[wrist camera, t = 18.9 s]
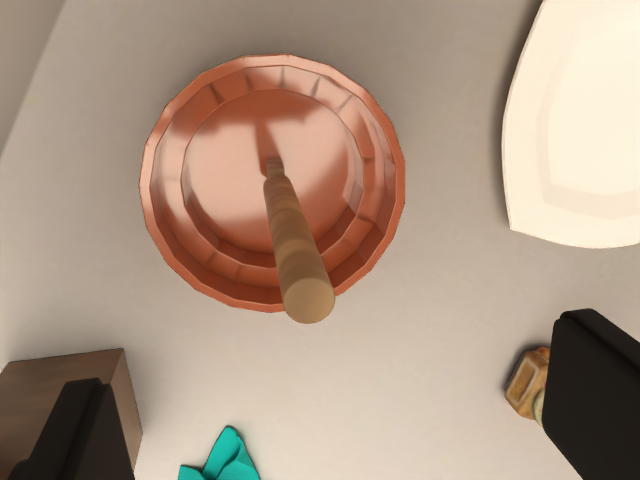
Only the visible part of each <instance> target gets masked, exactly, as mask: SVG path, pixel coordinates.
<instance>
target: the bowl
mask: <svg viewBox="0 0 640 480" xmlns="http://www.w3.org/2000/svg"><path fill="white" fill-rule="evenodd" d="M275 158H280V159H281V161H282V164H283V167H284V172H285V176H287V177H288V178H289V179H290V181H291V183H292V185H293V188H294V190H295V193H296V195H297V198H298V201H299V203H300V206H301V208H302V211H303V213H304V216H305V218H306V221H307V223H308V226H309V229H310V231H311V234H312V236H313V239H314V241H315V244H316V246H317V249H318V251H319V254H320V257H321V259H322V262H323V264H324V267H325V269H326V272H327V274H328V277H329V279H330V282H331V285H332V287H333V290H334V293H335V296H337V295H340V294H342V293H343V292H345V291H346V290H347V289H348V288H350V287H351V286H352V285H353V284H355V283H356V282H357V281H358V280H360V279H361V278H362V277H363V276H365V275H366V274H367V273H368V272H370V271H371V269H372V268H373V267H374V265H375V264H376V263H377V261H378V260H379V258H380V257H381V255H382V254H383V253H384V251H385V250H386V248H387V247H388V245H389V244H390V242H391V241H392V240H393V238H394V235H395V232H396V229H397V226H398V222H399V219H400V216H401V213H402V210H403V207H404V204H405V160H404V157H403V154H402V151H401V148H400V145H399V142H398V139H397V136H396V133H395V130H394V126H393V125H392V122H391V121H390V120H389V118H388V117H387V116H386V114H385V113H384V112H383V110H382V109H381V108H380V106H379V105H378V104H377V102H376V101H375V100H374V98H373V97H372V95H371V94H370V93H369V91H367V90H366V89H365V88H364V87H362V86H361V85H359V84H358V83H356V82H355V81H353V80H352V79H350V78H349V77H348V76H346V75H345V74H343V73H342V72H340V71H339V70H337V69H336V68H334V67H333V66H331V65H328V64H324V63H320V62H317V61H313V60H310V59H306V58H302V57H299V56H295V55H292V54H287V53H266V54H250V55H241V56H238V57H236V58H233V59H231V60H229V61H226V62H224V63H221V64H219V65H217V66H214V67H212V68H210V69H207V70H205V71H204V72H202V73H201V74H200V75H198V76H197V77H196V78H195V79H194V80H193V81H192V82H191V83H190V84H188V85H187V86H186V87H185V88H184V89H183V90H182V91H181V92H180V93H179V94H177V95H176V96H175V97H174V98H173V99H172V100H171V101H170V102H169V103H168V104H167V105H166V106H165V108H164V109H163V111H162V113H161V115H160V117H159V119H158V121H157V123H156V124H155V126H154V128H153V130H152V132H151V134H150V136H149V138H148V139H147V141H146V144H145V147H144V153H143V160H142V167H141V173H140V180H139V192H140V197H141V202H142V207H143V213H144V218H145V223H146V227H147V230H148V232H149V233H150V235H151V237H152V239H153V241H154V242H155V244H156V246H157V248H158V249H159V251H160V253H161V255H162V256H163V258H164V260H165V262H166V263H167V264H168V265H169V266H170V267H171V268H172V269H173V270H174V271H175V272H177V273H178V274H179V275H180V276H181V277H182V278H183V279H184V280H185V281H186V282H187V283H189V284H190V285H191V286H192V287H193V288H194V289H195V290H197V291H199V292H201V293H203V294H205V295H207V296H209V297H211V298H214V299H216V300H218V301H220V302H222V303H224V304H226V305H228V306H231V307H235V308H242V309H248V310H254V311H260V312H267V313H273V312H281V311H285V309H284V306H283V301H282V295H281V289H280V284H279V278H278V272H277V266H276V261H275V255H274V249H273V244H272V238H271V232H270V227H269V221H268V215H267V209H266V204H265V198H264V192H263V184H264V182H265V180H266V179H267V172H266V162H265V160H266V159H275Z"/></svg>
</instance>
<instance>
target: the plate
mask: <svg viewBox="0 0 640 480" xmlns="http://www.w3.org/2000/svg"><path fill="white" fill-rule="evenodd" d="M501 148H502V173H503V182H504V191H505V199H506V207H507V213H508V219H509V224H510V228H511V229H512V230H515V231H518V232H521V233H524V234H528V235H531V236H534V237H537V238H541V239H544V240H548V241H551V242H555V243H558V244H563V245H569V246H575V247H581V248H601V249H605V248H614V247H622V246H628V245H632V244H637V243H640V0H543V1H542V4H541V6H540V8H539V10H538V13H537V15H536V17H535V20H534V22H533V25H532V27H531V30H530V32H529V35H528V37H527V40H526V42H525V45H524V47H523V50H522V53H521V55H520V58H519V61H518V64H517V67H516V70H515V73H514V77H513V80H512V83H511V86H510V89H509V94H508V98H507V102H506V107H505V111H504V115H503V126H502V144H501Z"/></svg>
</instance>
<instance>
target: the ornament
mask: <svg viewBox="0 0 640 480" xmlns="http://www.w3.org/2000/svg"><path fill="white" fill-rule="evenodd" d="M549 356H550V348H546V347H538V348H537V349H535V350H534V351H526V352H524V353H523V354H522V356H521V358H520V360H519V362H518V364H517V366H516V368H515V369H514V371H513V373H512V375H511V377H510V379H509V381H508V383H507V385H506V387H505V398H506V400H507V401H508V402H509V404H510V405H511V406H512V407H513V408H514V409H515V411H516V412H517V413H518V414H519V415H520V416H522V417H525V418H529V419H533V420H536V422H537V423H538V424H539V425H540V426H541V427H543V425H542V421H541V416H542V408H543V401H544V393H545V386H546V378H547V371H548V363H549Z"/></svg>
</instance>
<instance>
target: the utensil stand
mask: <svg viewBox="0 0 640 480" xmlns="http://www.w3.org/2000/svg"><path fill="white" fill-rule="evenodd" d="M95 377H98V378H100V380H101V382H102V384H107V383H109V384H111V386H112V388H113V392H114V396H115V400H116V404H117V408H118V412H119V416H120V420H121V424H122V429H123V433H124V437H125V441H126V445H127V449H128V453H129V457H130V461H131V465H132V469H133V472H134V468H135V464H136V460H137V456H138V452H139V448H140V444H141V440H142V436H143V432H142V428H141V424H140V419H139V415H138V411H137V406H136V402H135V398H134V393H133V389H132V384H131V380H130V376H129V371H128V367H127V363H126V358H125V354H124V350H123V348H121V349H113V350H105V351H97V352H89V353H82V354H74V355H66V356H58V357H50V358H42V359H34V360H26V361H18V362H11V363H8V364H7V365H6V366H5V368H4V369H3V371H2V372H1V373H0V480H7V479H8V477H9V475H10V473H11V471H12V470H13V468H14V467H15V465H16V464H17V463H18V462H19V461H21V460H25V459H29V457H30V455H31V453H32V450H33V448H34V446H35V444H36V442H37V440H38V438H39V436H40V434H41V432H42V430H43V428H44V425H45V423H46V421H47V419H48V417H49V415H50V413H51V411H52V409H53V407H54V405H55V403H56V400H57V398H58V396H59V394H60V392H61V390H62V388H63V386H64V384H65V383H66V382H68V381H74V380H81V379H88V378H95Z"/></svg>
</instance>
